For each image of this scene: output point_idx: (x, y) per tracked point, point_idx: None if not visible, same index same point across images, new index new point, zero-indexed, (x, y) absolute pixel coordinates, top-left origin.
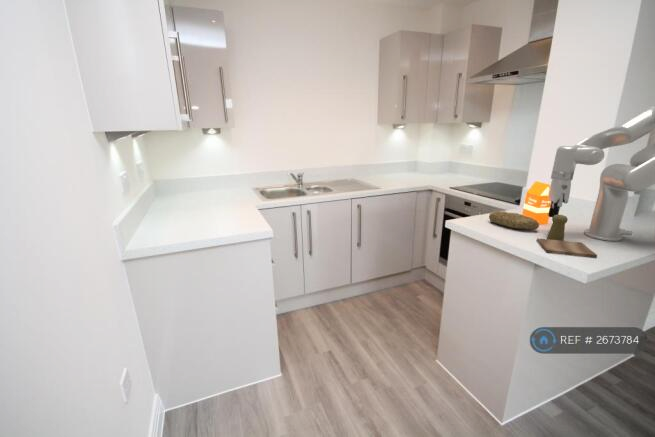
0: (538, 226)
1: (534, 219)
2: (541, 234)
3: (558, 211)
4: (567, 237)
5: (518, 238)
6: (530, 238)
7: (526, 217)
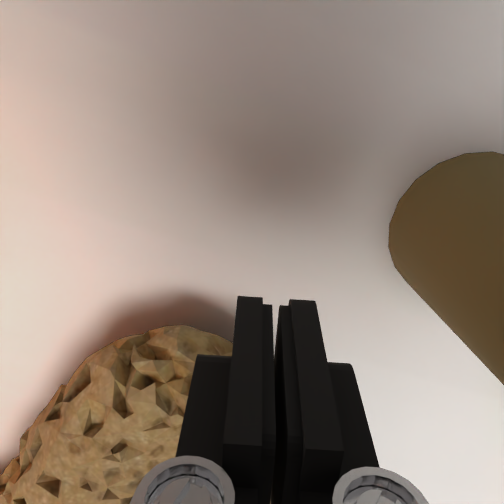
0: (204, 340)
1: (140, 425)
2: (307, 299)
3: (327, 394)
4: (367, 44)
5: (454, 493)
6: (446, 420)
7: (105, 493)
